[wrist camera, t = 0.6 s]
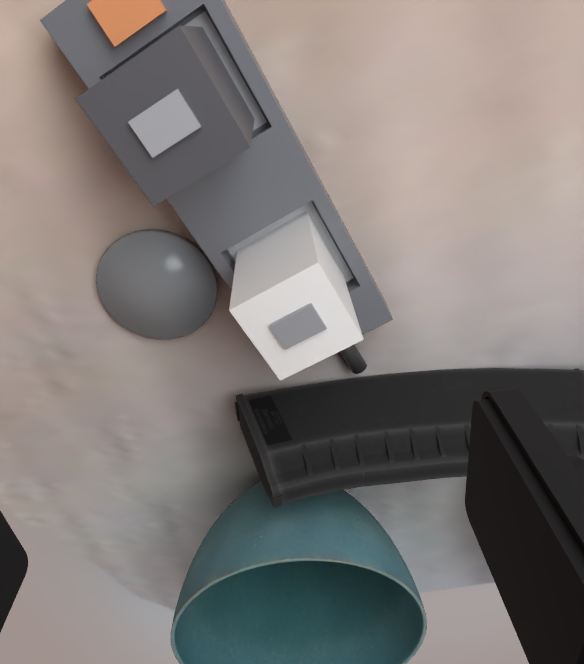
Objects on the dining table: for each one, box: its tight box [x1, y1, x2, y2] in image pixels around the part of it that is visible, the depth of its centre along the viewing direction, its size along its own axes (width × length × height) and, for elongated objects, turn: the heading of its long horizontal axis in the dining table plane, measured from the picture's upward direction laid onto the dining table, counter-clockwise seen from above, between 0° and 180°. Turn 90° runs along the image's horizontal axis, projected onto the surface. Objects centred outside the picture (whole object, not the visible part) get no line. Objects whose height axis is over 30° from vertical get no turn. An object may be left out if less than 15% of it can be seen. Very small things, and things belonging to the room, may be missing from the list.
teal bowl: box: [171, 481, 427, 664], centre depth 42 cm, size 18×18×12 cm
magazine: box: [235, 368, 584, 509], centre depth 36 cm, size 17×3×30 cm
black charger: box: [75, 25, 254, 207], centre depth 24 cm, size 5×5×8 cm
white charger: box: [229, 211, 364, 381], centre depth 29 cm, size 5×5×8 cm
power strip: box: [40, 0, 393, 374], centre depth 31 cm, size 28×8×4 cm, turn 30°
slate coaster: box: [96, 229, 217, 339], centre depth 35 cm, size 8×8×1 cm
